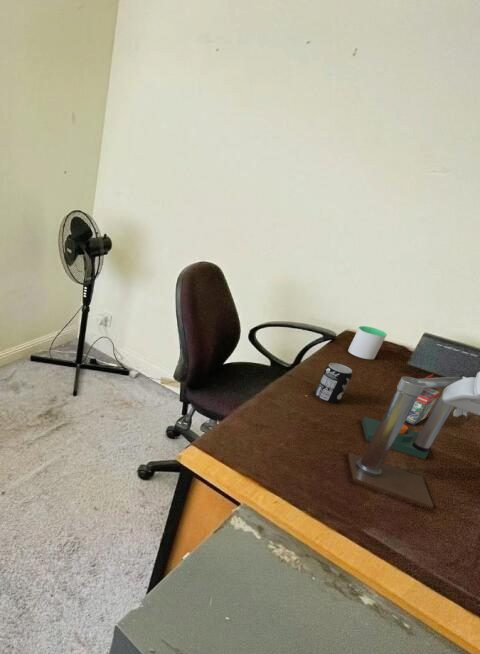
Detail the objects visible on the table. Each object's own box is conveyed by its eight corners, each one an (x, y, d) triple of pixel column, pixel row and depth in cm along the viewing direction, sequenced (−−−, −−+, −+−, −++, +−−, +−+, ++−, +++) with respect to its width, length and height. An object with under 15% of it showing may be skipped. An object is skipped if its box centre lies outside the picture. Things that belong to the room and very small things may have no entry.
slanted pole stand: (419, 481, 103) (469, 397, 93) (430, 511, 95) (487, 422, 85) (347, 457, 111) (386, 377, 101) (352, 482, 103) (395, 398, 92)
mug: (354, 344, 169) (365, 322, 165) (380, 352, 163) (391, 330, 159) (345, 352, 163) (356, 329, 159) (371, 361, 157) (383, 337, 153)
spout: (417, 442, 105) (456, 372, 97) (434, 453, 101) (477, 382, 93) (362, 445, 104) (397, 375, 95) (378, 457, 100) (416, 385, 92)
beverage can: (336, 396, 136) (351, 366, 131) (340, 407, 131) (356, 375, 126) (312, 390, 139) (325, 360, 134) (315, 400, 134) (329, 369, 129)
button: (404, 428, 116) (406, 424, 115) (406, 435, 113) (409, 430, 113) (386, 423, 118) (389, 419, 117) (389, 430, 115) (391, 425, 115)
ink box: (425, 418, 126) (450, 379, 120) (414, 425, 123) (438, 385, 117) (410, 411, 129) (432, 372, 123) (398, 418, 126) (421, 378, 120)
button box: (416, 438, 118) (422, 427, 116) (425, 459, 110) (431, 447, 109) (361, 422, 124) (366, 411, 123) (366, 440, 117) (371, 429, 115)
